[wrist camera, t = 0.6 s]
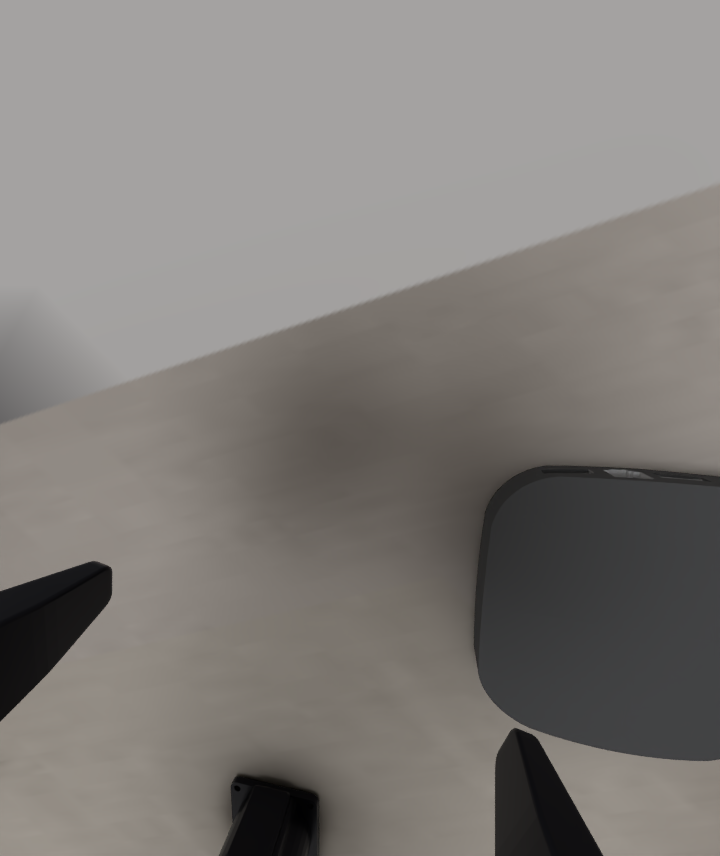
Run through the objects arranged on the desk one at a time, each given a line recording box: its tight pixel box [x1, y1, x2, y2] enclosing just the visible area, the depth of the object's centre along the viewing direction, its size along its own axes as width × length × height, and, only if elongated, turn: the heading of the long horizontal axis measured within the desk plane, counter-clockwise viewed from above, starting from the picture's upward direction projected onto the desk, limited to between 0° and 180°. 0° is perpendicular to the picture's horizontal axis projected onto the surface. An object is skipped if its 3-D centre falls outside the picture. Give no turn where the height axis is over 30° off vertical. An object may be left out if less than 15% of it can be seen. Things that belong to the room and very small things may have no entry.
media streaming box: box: [474, 466, 720, 761], centre depth 19 cm, size 15×15×3 cm
